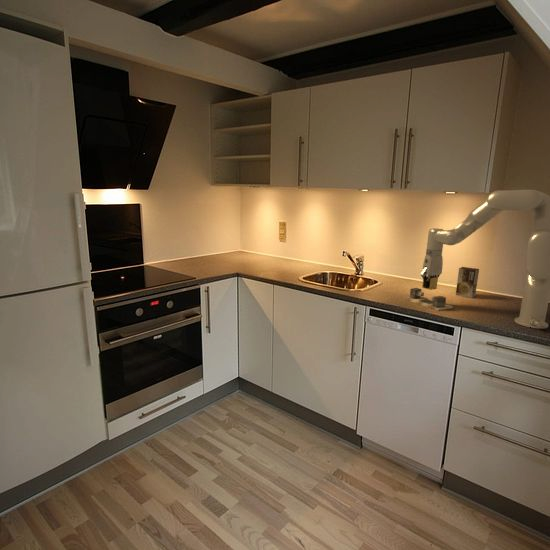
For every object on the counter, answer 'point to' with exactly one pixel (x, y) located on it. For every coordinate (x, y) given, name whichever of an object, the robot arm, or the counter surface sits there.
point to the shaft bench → (428, 300)
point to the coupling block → (432, 283)
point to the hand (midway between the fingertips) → (429, 287)
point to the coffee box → (467, 282)
